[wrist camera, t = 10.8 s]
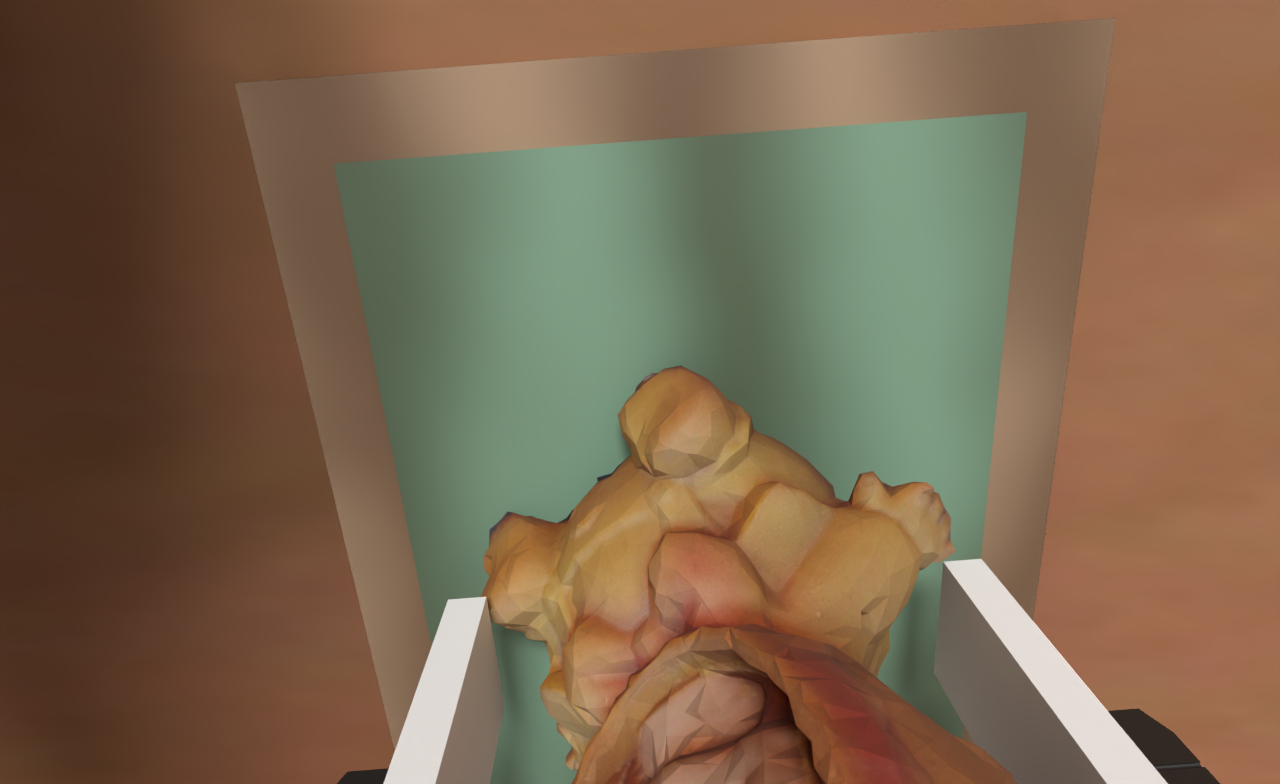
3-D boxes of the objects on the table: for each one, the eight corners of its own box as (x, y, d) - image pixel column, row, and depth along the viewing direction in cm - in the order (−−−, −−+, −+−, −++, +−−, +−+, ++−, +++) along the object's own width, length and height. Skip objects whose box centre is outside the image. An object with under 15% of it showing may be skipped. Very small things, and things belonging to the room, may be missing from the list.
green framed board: (444, 881, 22) (434, 926, 21) (264, 86, 15) (232, 83, 13) (978, 838, 22) (999, 880, 21) (1077, 25, 15) (1119, 17, 13)
